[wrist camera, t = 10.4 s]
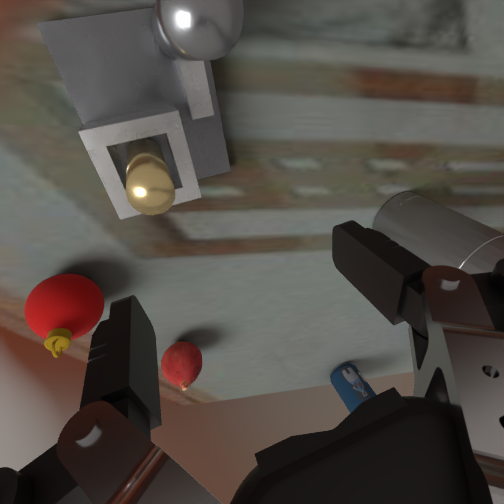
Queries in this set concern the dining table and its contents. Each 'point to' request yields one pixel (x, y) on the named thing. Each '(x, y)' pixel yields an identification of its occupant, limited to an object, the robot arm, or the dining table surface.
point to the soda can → (350, 385)
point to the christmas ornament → (63, 309)
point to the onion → (182, 364)
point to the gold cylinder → (148, 178)
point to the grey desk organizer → (149, 87)
